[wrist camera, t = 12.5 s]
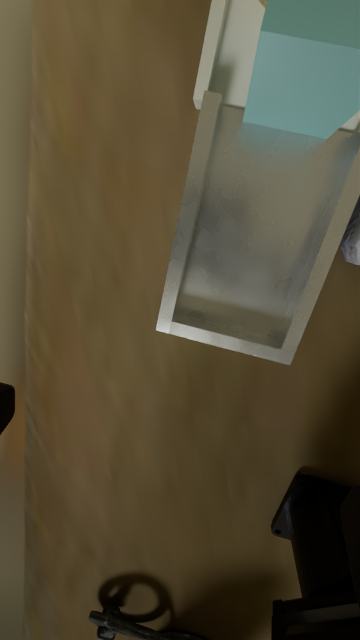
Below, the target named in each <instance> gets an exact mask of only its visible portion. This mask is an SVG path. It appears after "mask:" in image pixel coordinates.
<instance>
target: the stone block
mask: <svg viewBox="0 0 360 640" xmlns="http://www.w3.org/2000/svg"><path fill="white" fill-rule="evenodd" d="M340 248H341V250H342V252H343V255H344V258H345V260H346V261H347V262H350V263H353V264H355V265H360V196H359V198H358V200H357V203H356V205H355V208H354V210H353V213H352V215H351V218H350V220H349V222H348V225H347V227H346V230H345V232H344V235H343V237H342V239H341V242H340Z"/></svg>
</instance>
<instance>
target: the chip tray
mask: <svg viewBox="0 0 360 640" xmlns="http://www.w3.org/2000/svg"><path fill="white" fill-rule="evenodd" d="M264 13H265V8H264V7H263V6H262V5H261V3H260V2H259V0H212V2H211V8H210V13H209V18H208V23H207V28H206V34H205V39H204V44H203V49H202V54H201V60H200V65H199V70H198V75H197V80H196V86H195V91H194V96H193V101H194V104H195V108H196V109H201V104H202V99H203V94H204V90H205V91H210V92H215V93H220V94H222V106H224V107H228V108H233V109H238V110H243V111H245V106H246V101H247V96H248V91H249V86H250V81H251V75H252V70H253V65H254V60H255V55H256V49H257V44H258V39H259V34H260V29H261V25H262V21H263V17H264ZM358 130H360V110H359V111H358V112H357V113H356V114H355V115H354V116H353V117H351V118H350V119H349V120H348V121H347V122H346V123H344V124H343V125H342V126H341V127H340V128H339V129H338V131H343V132H348V133H353V134H354V133H355V132H357V131H358Z"/></svg>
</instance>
